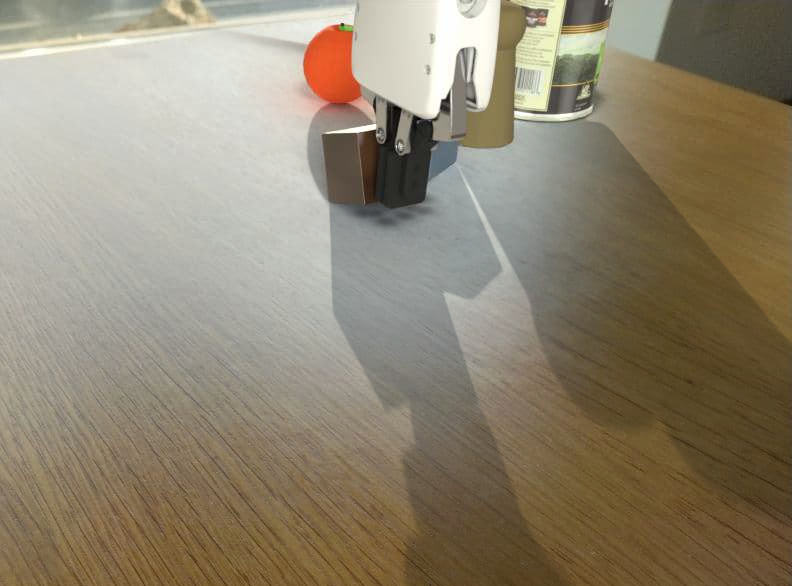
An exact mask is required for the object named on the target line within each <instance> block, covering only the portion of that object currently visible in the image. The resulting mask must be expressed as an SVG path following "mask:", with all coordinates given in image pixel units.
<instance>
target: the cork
mask: <svg viewBox="0 0 792 586" xmlns="http://www.w3.org/2000/svg"><path fill="white" fill-rule="evenodd" d="M526 25H527V18H526V14H525V11H524V9H523V8H522V7H521V6H520V5H518V4H517V3H514V2H510V1H506V0H501V4H500V21H499V33H498V44H497V53H496V62H495V70H494V78H493V85H492V91H491V96H490V100H489V103H488V106H487V108H486V109H485V110H483V111H480V112H470V111H468V110H467V133H466V137H465V138H464V139H462V140H459V143H458V146H459V145H460V146H463V147H468V148H475V149H493V148H500V147H504V146H508V145H509V144H511V143H512V142H513V140H514V135H515V118H514V103H515V65H516V46H517V44H518V43H519V42H520V41H521V40H522V38H523V36H524V33H525V31H526Z"/></svg>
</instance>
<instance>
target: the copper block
mask: <svg viewBox="0 0 792 586" xmlns="http://www.w3.org/2000/svg"><path fill="white" fill-rule="evenodd" d="M321 140H322V141H321V142H322V150H323V159H324V167H325V176H326V177H325V178H326V186H327V193H328V194H327V195H328V202H329V203H335V204H336V203H337V204H344V205H345V204H347V205H358V206H367V205H373V204H378V203H379V202H378V201H377V200H376V199H375V190H376V180H377V170H378V160H379V150H380V146H383V145H384V144H380V143H379V142H378V141H377V138H376V123H375V124H374V123H373V124H368V125H361V126H356V127H349V128H346V129H339V130H334V131H328V132H323V133H321Z"/></svg>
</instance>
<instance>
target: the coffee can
mask: <svg viewBox="0 0 792 586" xmlns="http://www.w3.org/2000/svg"><path fill="white" fill-rule="evenodd" d="M506 1H510V2H514V3H517V4H518V5H520V6H521V7H522V8H523V9H524V11H525V14H526V18H527V25H526V31H525V33H524V36H523V38H522V40H521V41H520V42H519V43H518V44H517V46H516V65H515V103H514V119H517V120H523V121H529V122H530V121H531V122H544V123H545V122H548V123H549V122H551V123H552V122H555V123H556V122H568V121H574V120H580V119H583V118H585V117H587V116H589V115H590V114H591V113H592V112H593V110H594V102H595V97H596V92H597V87H598V82H599V76H600V71H601V67H602V62H603V57H604V52H605V46H606V41H607V37H608V32H609V27H610V22H611V18H612V14H613V13H612V12H613V8H614V3H615V0H506Z"/></svg>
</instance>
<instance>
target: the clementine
mask: <svg viewBox="0 0 792 586" xmlns="http://www.w3.org/2000/svg"><path fill="white" fill-rule="evenodd" d="M353 27H354V25H351V24H347V23H346V24H345V22H340V23H339V24H331V25H328V26H325V28H323V29H321V30H320V31H319V32H317V33H316V34H315V35H314V36H313V38H311V40H310V41H309V43H308V45H307V47H306V49H305V52H304V56H303V62H302V68H303V69H302V70H303V75H304V78H305V81H306V83H307V85H308V87H309V88H310V89H311V91H312V92H313V94H315V95H316V96H317V97H318V98H320V99H322V100H323V101H325V102H329V103H332V104H339V105H340V104H347V103H351V102H354V101H356V100H358V99H360V98H361V97H363V96H362V94H361V92H360V86H361V85H360V84H359V83H358V82H357V81H356V79H355V78H354V76H353V74H352V38H353Z"/></svg>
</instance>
